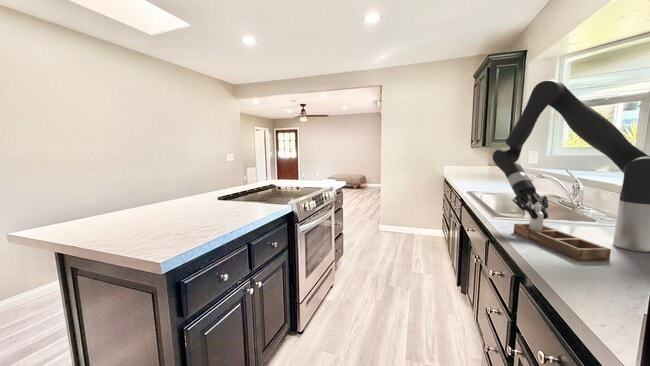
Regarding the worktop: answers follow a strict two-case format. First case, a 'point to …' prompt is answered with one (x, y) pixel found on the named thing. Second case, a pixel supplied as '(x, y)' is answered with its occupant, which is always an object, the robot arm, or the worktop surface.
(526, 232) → the walnut rack
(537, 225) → the eye dropper bottle
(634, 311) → the worktop surface
